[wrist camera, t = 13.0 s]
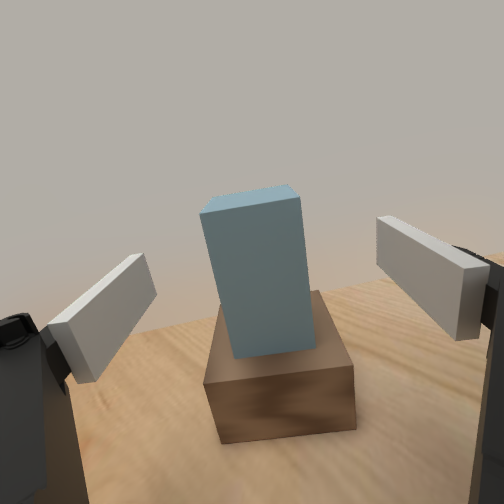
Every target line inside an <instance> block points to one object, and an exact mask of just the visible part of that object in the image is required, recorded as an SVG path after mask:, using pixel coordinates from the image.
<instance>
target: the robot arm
mask: <svg viewBox="0 0 504 504" xmlns="http://www.w3.org/2000/svg"><path fill="white" fill-rule="evenodd" d="M377 265H378V266H379V267H380V268H381V269H382V270H383V271H384V272H385V273H386V274H387V275H388V276H389V277H390V278H391V279H392V280H393V281H394V282H395V283H396V284H397V285H398V286H399V287H401V288H402V289H403V290H404V291H405V292H406V293H407V294H408V295H409V296H410V297H411V298H412V299H413V300H414V301H415V302H416V303H417V304H418V305H419V306H420V307H421V308H422V309H423V310H424V311H425V312H426V313H427V314H428V315H429V316H430V317H431V318H432V319H433V320H434V321H435V322H436V323H437V324H438V325H439V326H440V327H441V328H442V329H444V330H445V331H446V332H447V333H448V334H449V335H450V336H451V337H452V338H453V339H454V340H455V341H461V340H470V339H478V338H479V334H480V328H481V323H482V324H483V325H485V326H486V327H487V328H489V329H490V330H491V334H490V340H489V346H488V351H487V357H486V358H487V363H486V371H485V379H484V386H483V394H482V402H481V410H480V417H479V425H478V433H477V441H476V448H475V456H474V464H473V472H472V480H471V487H470V495H469V503H468V504H504V267H502V266H500V265H498V264H496V263H494V262H492V261H490V260H488V259H484V257H482V256H480V255H476V254H475V253H473V252H471V251H469V250H467V249H464V248H460V247H456V246H453V245H449V244H447V243H445V242H443V241H441V240H439V239H437V238H435V237H433V236H431V235H429V234H427V233H425V232H423V231H421V230H419V229H417V228H415V227H413V226H411V225H409V224H407V223H405V222H403V221H401V220H399V219H397V218H395V217H393V216H384V217H378V218H377ZM156 295H157V293H156V290H155V287H154V284H153V281H152V278H151V274H150V272H149V268H148V265H147V262H146V260H145V256H144V253H140V254H133V255H130V256H129V257H128V258H127V259H125V260H124V261H123V262H122V263H120V264H119V265H118V266H117V267H116V268H115V269H114V270H112V271H111V272H110V273H108V274H107V275H106V276H105V277H103V278H102V279H101V280H100V281H99V282H97V283H96V284H95V285H94V286H93V287H92V288H90V289H89V290H88V291H87V292H85V293H84V294H83V295H82V296H81V297H79V298H78V299H77V300H76V301H74V302H73V303H72V304H71V305H70V306H69V307H67V308H66V309H65V310H64V311H63V312H61V313H60V314H59V315H58V316H56V317H55V318H54V319H53V320H52V321H50V322H49V323H48V324H47V326H46V327H45V328H43V329H42V330H41V331H40V332H38V330H37V328H36V326H35V324H34V322H33V320H32V318H31V317H30V315H29V314H28V313H20V314H16V315H12V316H9V317H6V318H4V319H2V320H0V504H89V499H88V494H87V488H86V483H85V477H84V471H83V466H82V460H81V455H80V449H79V444H78V438H77V433H76V427H75V421H74V416H73V410H72V405H71V399H70V394H69V388H68V386H67V384H66V382H65V379H66V377H67V376H68V375H69V374H70V373H71V372H72V374H73V376H74V378H75V380H76V382H77V384H82V383H90V382H96V381H97V380H98V378H99V377H100V376H101V374H102V373H103V371H104V370H105V368H106V367H107V366H108V364H109V363H110V361H111V360H112V358H113V357H114V356H115V354H116V353H117V351H118V350H119V348H120V347H121V346H122V344H123V343H124V341H125V340H126V338H127V337H128V336H129V334H130V333H131V331H132V330H133V328H134V327H135V325H136V324H137V323H138V321H139V320H140V318H141V317H142V315H143V314H144V313H145V311H146V310H147V308H148V307H149V305H150V304H151V302H152V301H153V300H154V298H155V297H156Z"/></svg>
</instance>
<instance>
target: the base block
mask: <svg viewBox="0 0 504 504" xmlns="http://www.w3.org/2000/svg"><path fill="white" fill-rule="evenodd" d="M310 295H311V305H312V314H313V324H314V333H315V343H316V348H315V349H307V350H300V351H292V352H285V353H278V354H270V355H263V356H255V357H248V358H240V359H234V356H233V351H232V347H231V343H230V339H229V335H228V331H227V327H226V323H225V318H224V314H223V310H222V306H221V304H220V308H219V312H218V317H217V322H216V326H215V331H214V336H213V340H212V345H211V350H210V354H209V359H208V364H207V368H206V373H205V378H204V382H203V385H204V388H205V392H206V395H207V398H208V402H209V405H210V408H211V411H212V415H213V418H214V421H215V424H216V428H217V431H218V434H219V438H220V441H221V444H228V443H237V442H246V441H255V440H264V439H273V438H281V437H290V436H299V435H308V434H317V433H326V432H335V431H344V430H353V429H356V412H355V391H354V369H353V363H352V361H351V359H350V357H349V355H348V352H347V350H346V348H345V346H344V344H343V342H342V340H341V337H340V335H339V333H338V331H337V329H336V327H335V324H334V322H333V320H332V318H331V316H330V314H329V311H328V309H327V307H326V305H325V303H324V301H323V299H322V296H321V294H320V292H319V290H316V291H310Z"/></svg>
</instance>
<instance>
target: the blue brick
mask: <svg viewBox="0 0 504 504" xmlns="http://www.w3.org/2000/svg"><path fill="white" fill-rule="evenodd" d="M200 219H201V223H202V227H203V232H204V236H205V239H206V244H207V248H208V252H209V256H210V260H211V265H212V269H213V273H214V277H215V281H216V285H217V289H218V294H219V298H220V302H221V306H222V310H223V314H224V318H225V323H226V327H227V331H228V335H229V339H230V343H231V347H232V351H233V356H234V359H240V358H248V357H255V356H263V355H270V354H278V353H285V352H292V351H300V350H307V349H315V348H316V343H315V333H314V324H313V314H312V305H311V295H310V286H309V277H308V267H307V258H306V248H305V239H304V229H303V220H302V210H301V201H300V196H299V195H298V194H297V193H296V192H294V190H293V189H292V188H291V187H289V186H288V185H281V186H276V187H270V188H263V189H258V190H252V191H246V192H240V193H234V194H229V195H223V196H217V197H213V198H212V199H211V200H210V201H209V203H208V204H207V205H206V206H205V207H204V209H203V210H202V211H201V212H200Z"/></svg>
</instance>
